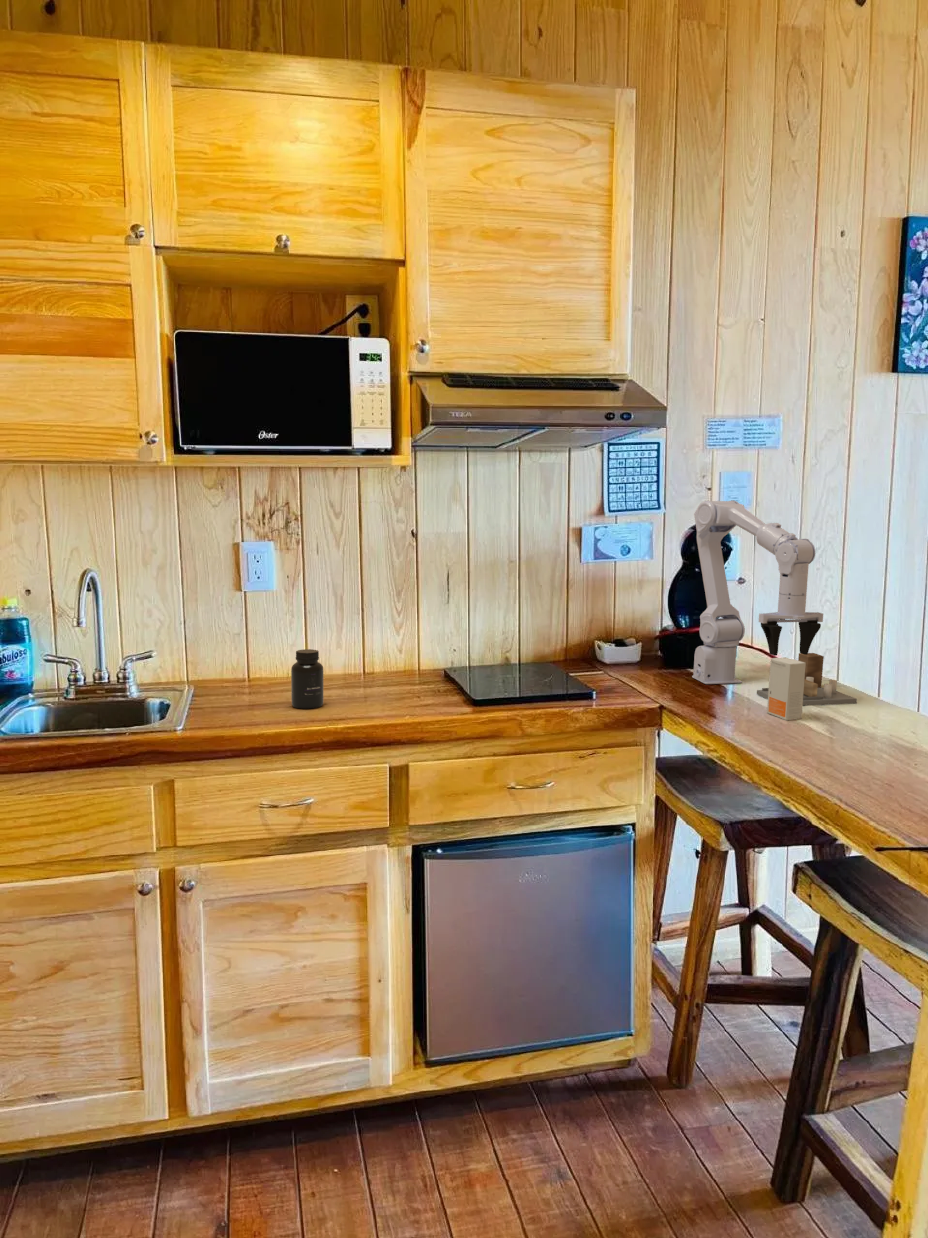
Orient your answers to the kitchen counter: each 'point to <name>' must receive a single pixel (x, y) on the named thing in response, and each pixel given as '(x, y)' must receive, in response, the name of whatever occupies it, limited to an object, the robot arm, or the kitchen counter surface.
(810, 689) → the jaw plate
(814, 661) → the walnut block
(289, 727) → the kitchen counter surface
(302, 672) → the supplement bottle
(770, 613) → the robot arm
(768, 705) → the skincare box
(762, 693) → the dock
